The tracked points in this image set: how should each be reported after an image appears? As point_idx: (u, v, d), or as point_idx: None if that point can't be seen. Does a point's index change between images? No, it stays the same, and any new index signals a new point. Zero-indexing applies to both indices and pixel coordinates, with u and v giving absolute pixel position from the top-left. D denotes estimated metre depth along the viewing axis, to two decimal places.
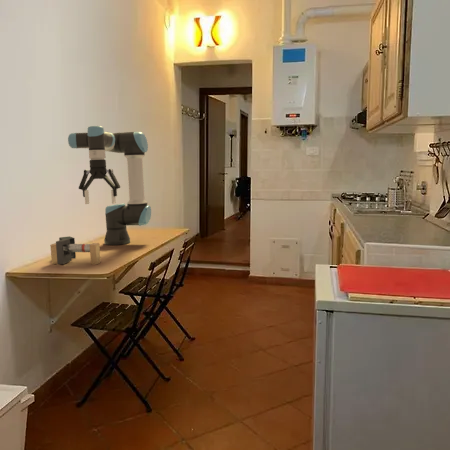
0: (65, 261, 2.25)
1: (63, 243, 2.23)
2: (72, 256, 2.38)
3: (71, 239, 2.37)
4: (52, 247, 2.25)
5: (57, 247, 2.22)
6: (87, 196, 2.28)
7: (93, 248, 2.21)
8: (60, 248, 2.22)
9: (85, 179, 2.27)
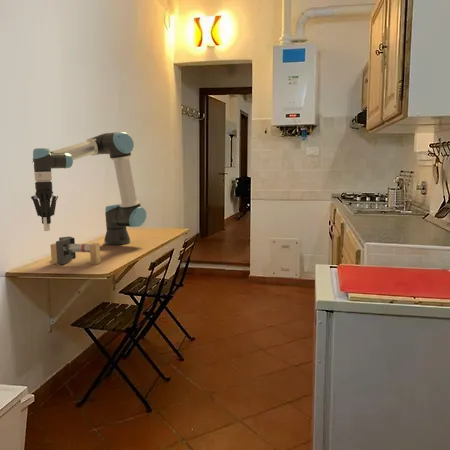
0: (65, 261, 2.25)
1: (63, 243, 2.23)
2: (72, 256, 2.38)
3: (71, 239, 2.37)
4: (52, 247, 2.25)
5: (57, 247, 2.22)
6: None
7: (93, 248, 2.21)
8: (60, 248, 2.22)
9: (38, 204, 2.25)
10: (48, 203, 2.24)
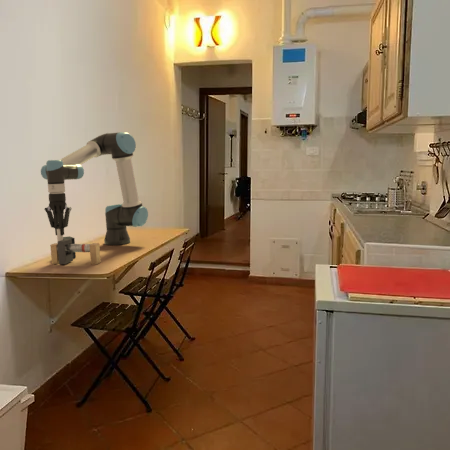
0: (67, 261, 2.25)
1: (65, 243, 2.23)
2: None
3: None
4: (52, 247, 2.25)
5: (59, 247, 2.22)
6: None
7: (93, 248, 2.21)
8: (62, 248, 2.22)
9: (51, 216, 2.25)
10: (61, 215, 2.23)
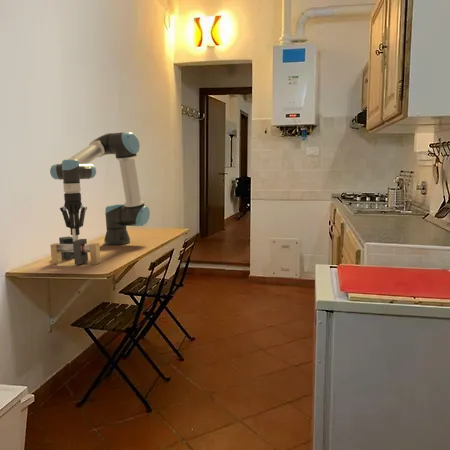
0: (82, 261, 2.23)
1: (80, 243, 2.21)
2: (72, 256, 2.38)
3: (71, 239, 2.37)
4: (52, 247, 2.25)
5: (74, 247, 2.21)
6: None
7: (93, 248, 2.21)
8: (77, 248, 2.20)
9: (66, 215, 2.23)
10: (77, 214, 2.22)
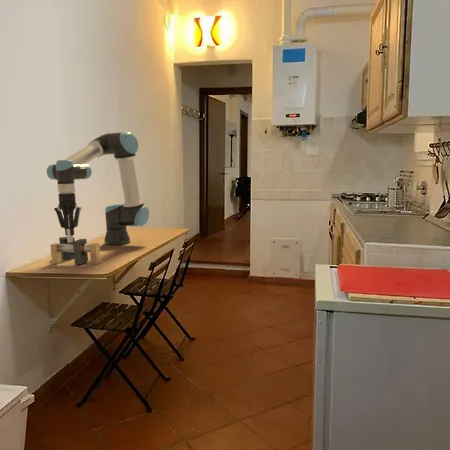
0: (82, 261, 2.23)
1: (80, 243, 2.21)
2: (72, 256, 2.38)
3: None
4: (52, 247, 2.25)
5: (74, 247, 2.21)
6: None
7: (93, 248, 2.21)
8: (77, 248, 2.20)
9: (61, 216, 2.24)
10: (71, 215, 2.23)
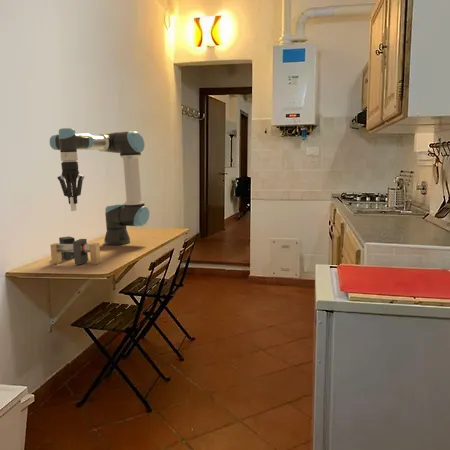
0: (82, 261, 2.23)
1: (80, 243, 2.21)
2: (72, 256, 2.38)
3: (71, 239, 2.37)
4: (52, 247, 2.25)
5: (74, 247, 2.21)
6: None
7: (93, 248, 2.21)
8: (77, 248, 2.20)
9: (64, 184, 2.26)
10: (74, 183, 2.25)
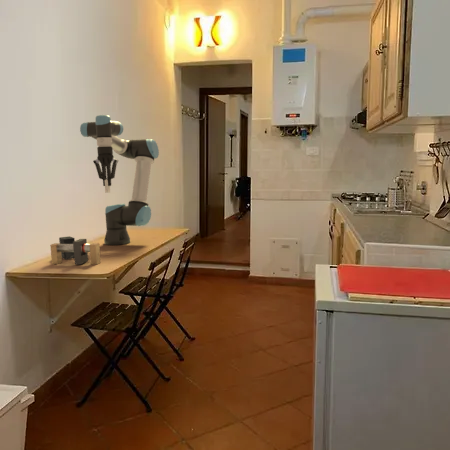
0: (82, 261, 2.23)
1: (80, 243, 2.21)
2: (72, 256, 2.38)
3: (71, 239, 2.37)
4: (52, 247, 2.25)
5: (74, 247, 2.21)
6: None
7: (93, 248, 2.21)
8: (77, 248, 2.20)
9: (99, 168, 2.43)
10: (109, 167, 2.41)
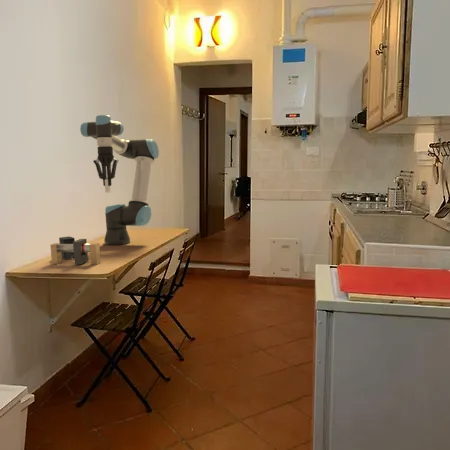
0: (82, 261, 2.23)
1: (80, 243, 2.21)
2: (72, 256, 2.38)
3: (71, 239, 2.37)
4: (52, 247, 2.25)
5: (74, 247, 2.21)
6: None
7: (93, 248, 2.21)
8: (77, 248, 2.20)
9: (99, 168, 2.43)
10: (109, 166, 2.41)
